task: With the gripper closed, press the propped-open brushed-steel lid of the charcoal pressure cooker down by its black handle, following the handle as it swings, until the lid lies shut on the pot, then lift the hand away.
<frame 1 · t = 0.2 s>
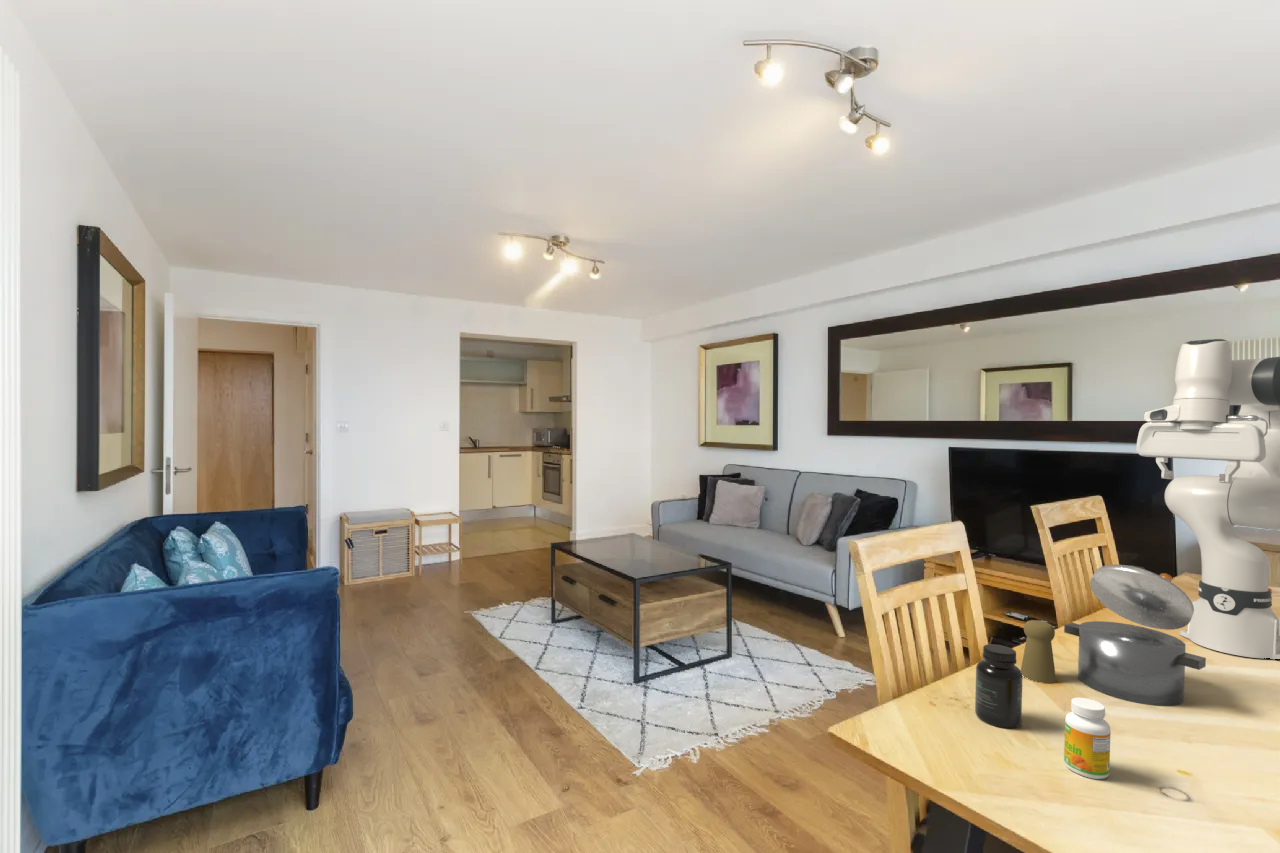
hand: (1195, 481, 129), 39 cm above the table, tool pointing down, fingers open, 8 cm apart
supplement bottle: (997, 720, 105), on the table
supplement bottle 2: (1086, 770, 90), on the table
cooker lid: (1141, 593, 121), point 18 cm above the table, hinge at 50.0°
cooker pot: (1128, 686, 119), on the table
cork: (1037, 677, 123), on the table
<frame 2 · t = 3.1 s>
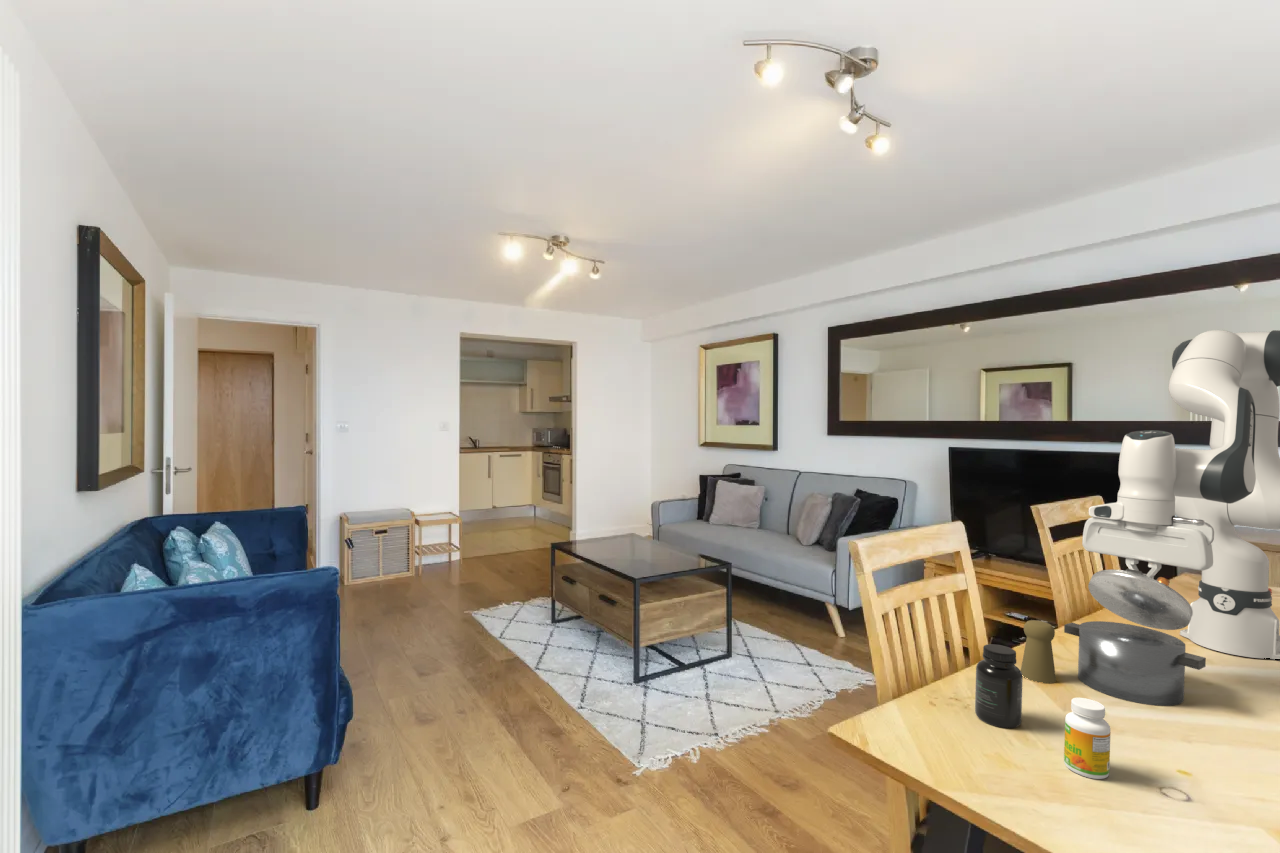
hand: (1142, 583, 122), 19 cm above the table, tool pointing down, fingers closed, pressing on cooker lid
cooker lid: (1139, 595, 121), point 17 cm above the table, hinge at 44.8°, touching gripper
everything else where it was.
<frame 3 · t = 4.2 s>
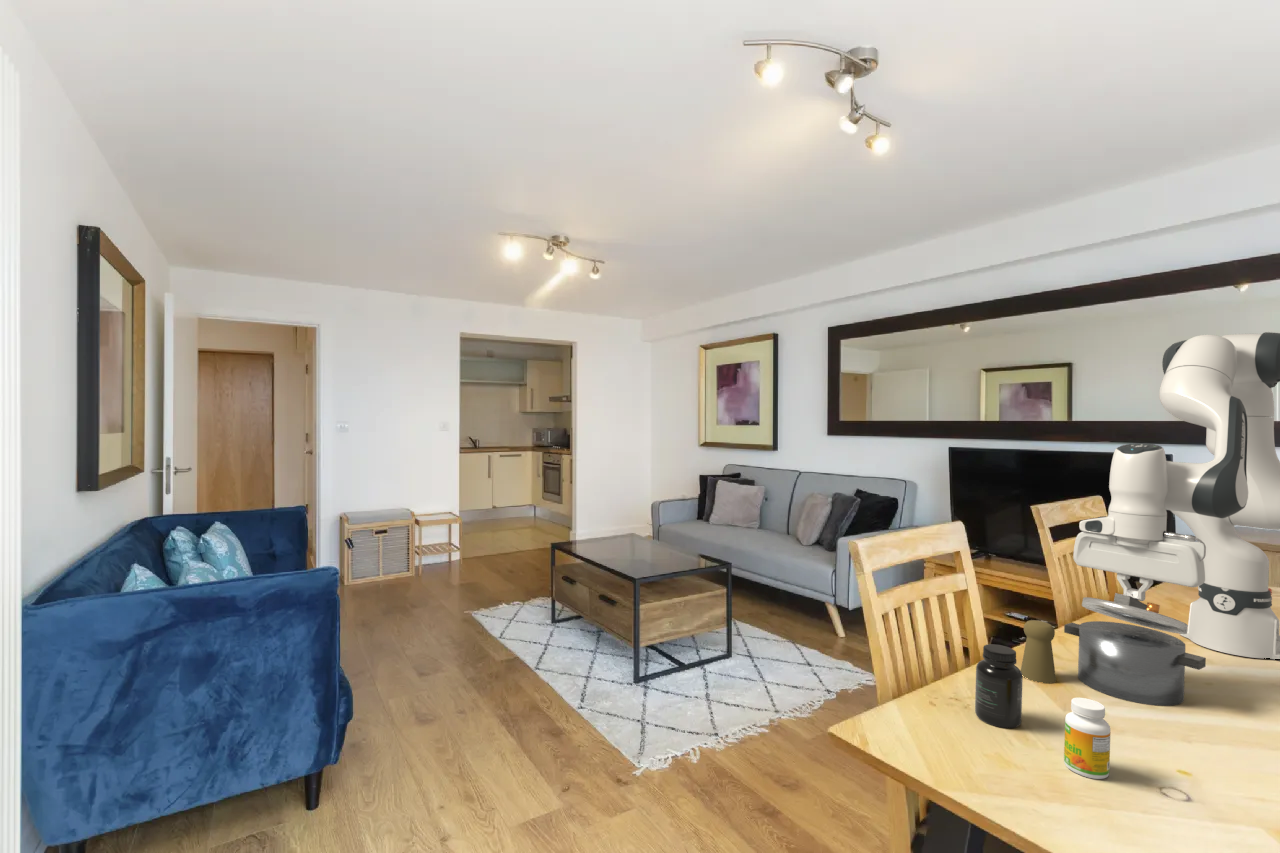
hand: (1134, 598, 120), 17 cm above the table, tool pointing down, fingers closed, pressing on cooker lid
cooker lid: (1133, 610, 120), point 15 cm above the table, hinge at 20.3°, touching gripper
everything else where it was.
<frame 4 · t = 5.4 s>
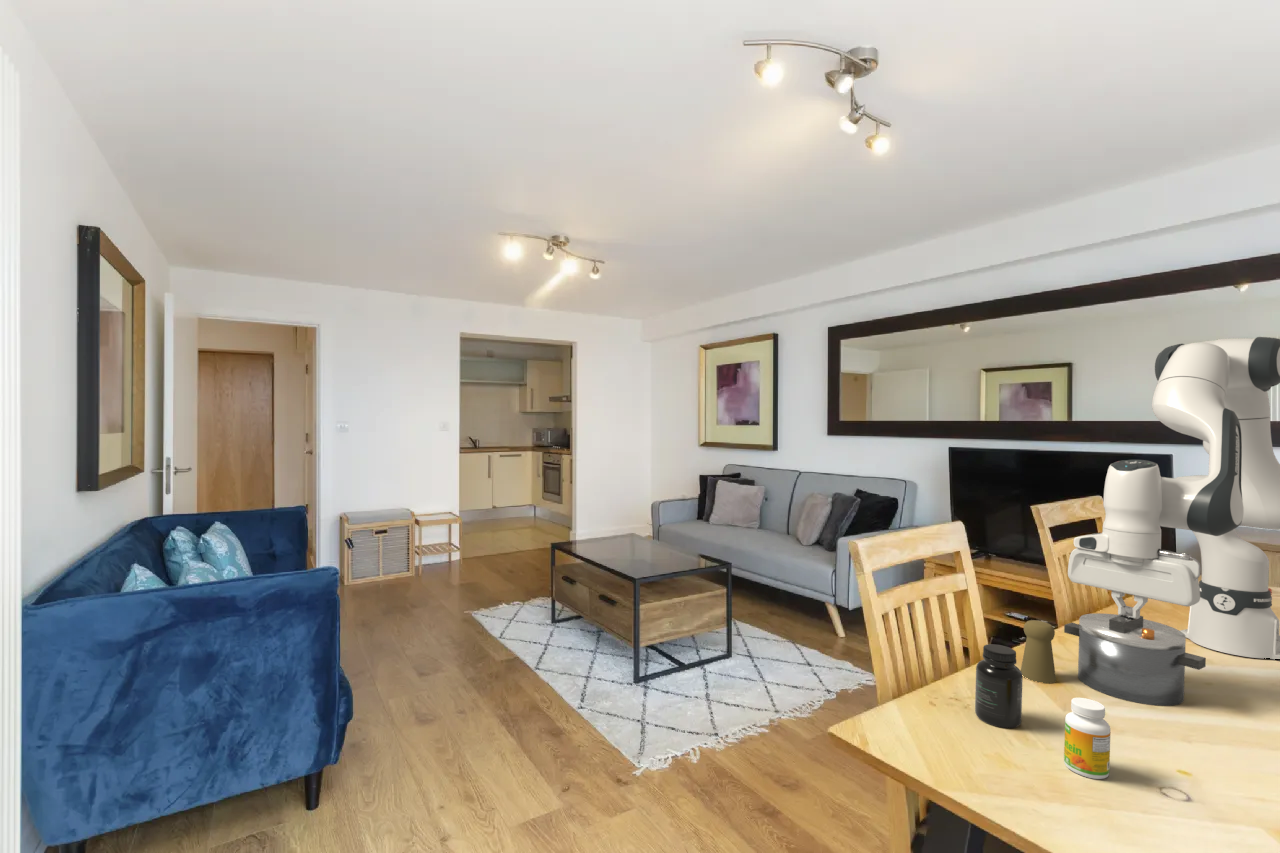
hand: (1128, 616, 119), 14 cm above the table, tool pointing down, fingers closed, pressing on cooker lid
cooker lid: (1130, 625, 119), point 12 cm above the table, hinge at -0.3°, touching gripper
everything else where it was.
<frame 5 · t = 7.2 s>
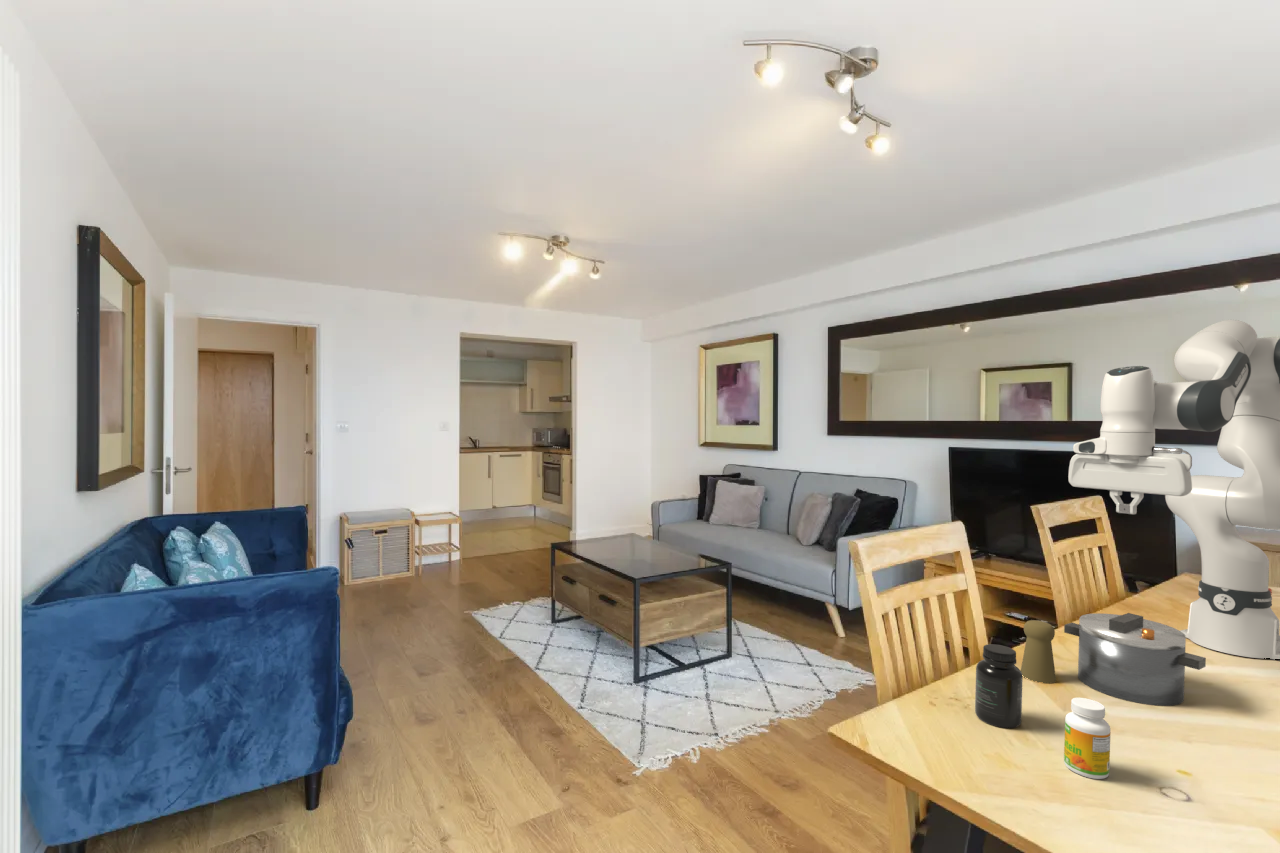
hand: (1126, 513, 127), 32 cm above the table, tool pointing down, fingers closed
cooker lid: (1130, 625, 119), point 12 cm above the table, hinge at -0.4°
everything else where it was.
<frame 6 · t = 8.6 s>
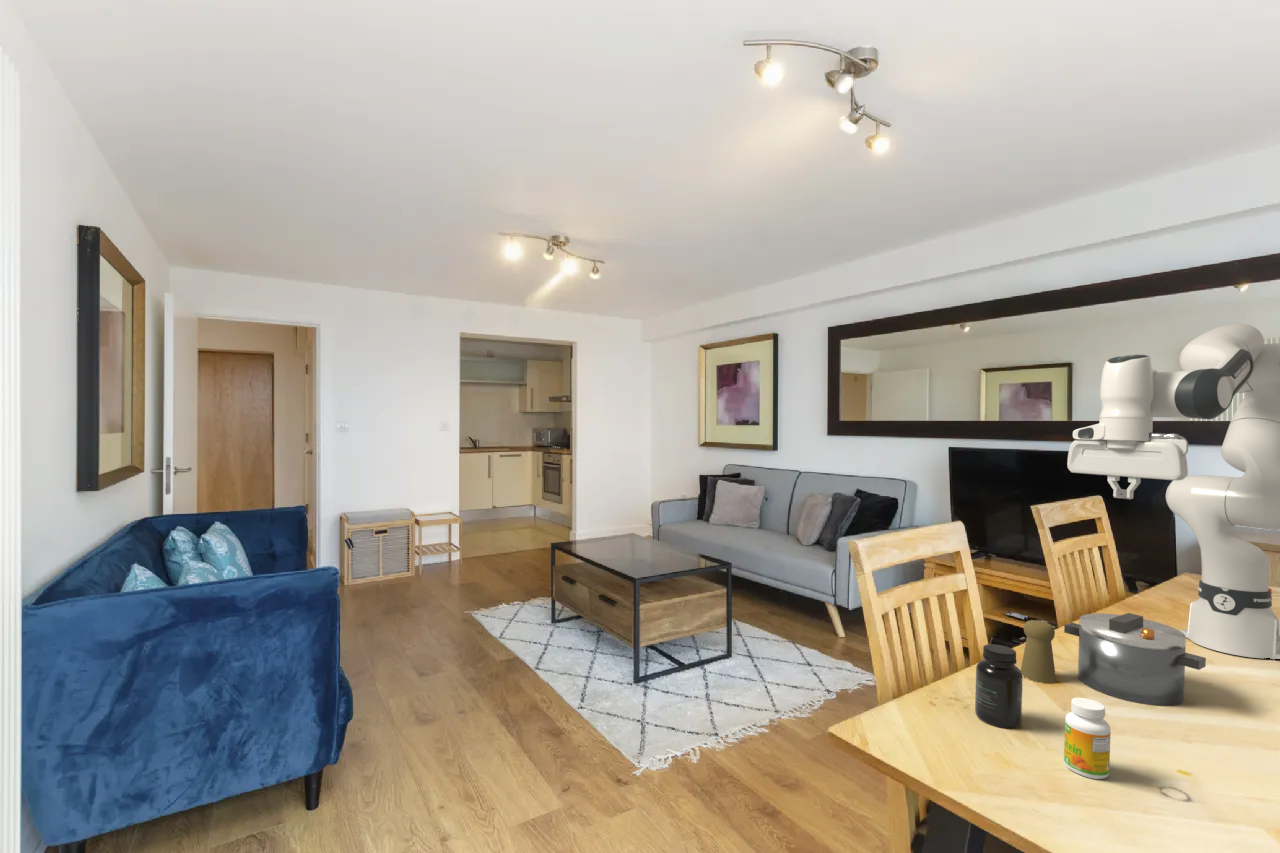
hand: (1123, 498, 130), 35 cm above the table, tool pointing down, fingers closed
nothing on the table moved.
at the end: cooker lid at +0° (first picture: +50°); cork moved 0.2 cm from its start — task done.
